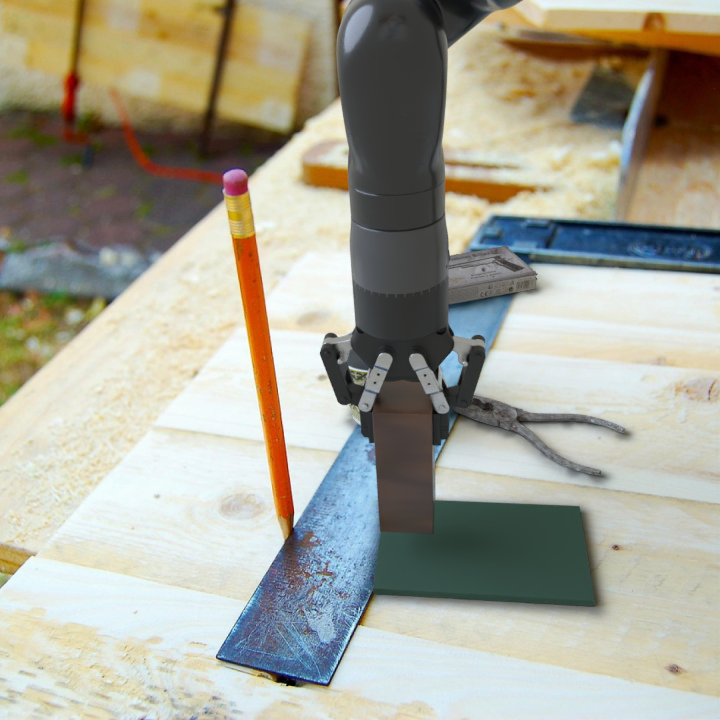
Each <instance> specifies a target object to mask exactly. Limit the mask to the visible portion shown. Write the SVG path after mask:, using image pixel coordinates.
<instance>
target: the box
mask: <svg viewBox="0 0 720 720" xmlns="http://www.w3.org/2000/svg"><path fill="white" fill-rule="evenodd" d="M538 274H539V273H538V272H537V271H536V270H534V269H533V268H532V267H530V266H529V265H528V264H527V263H526V261H524V260H522V259H521V258H520V257H519V256H518V255H517V254H516V253H515V252H513V251H512V250H511V248H510V247H508V246H507V245H502V246H497V247H496V246H495V247H491V248H485V249H479V250H475V251H466V252H462V253H456V254H451V255H450V260H449V275H448V277H449V300H448V305H454V304H460V303H466V302H471V301H477V300H482V299H486V298H491V297H498V296H503V295H508V294H513V293H519V292H524V291H525V292H526V291H529V290H530V291H531V290H536V284H537V283H536V282H537V281H538V277H537V276H538Z"/></svg>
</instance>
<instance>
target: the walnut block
mask: <svg viewBox="0 0 720 720" xmlns="http://www.w3.org/2000/svg"><path fill="white" fill-rule="evenodd" d="M372 416H373V432H374V443H373V445H374V460H375V475H376V477H375V478H376V489H377V490H376V492H377V506H378V507H377V508H378V521H379V522H378V523H379V531H380V533H381V532H402V533H424V534H433V531H434V514H435V500H436V445H433V404H432V401H431V399H430V397H429V395H426V393H425V391H424V389H423V387H422V385H421V382H410V381H406V380H399V381H394V382H383V384H382V387H381V389H380V392H379V394H378V395H377V397H376V399H375V402H374V407H373V412H372Z"/></svg>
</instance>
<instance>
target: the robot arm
mask: <svg viewBox="0 0 720 720" xmlns="http://www.w3.org/2000/svg"><path fill="white" fill-rule="evenodd" d="M523 1H524V0H349V2H348V3H347V5H346V7H345V9H344V11H343V15H342V18H341V21H340V24H339V28H338V31H337V35H336V45H335V55H336V57H335V58H336V73H337V79H338V80H337V83H338V89H339V99H340V105H341V113H342V118H343V124H344V131H345V136H346V141H347V146H348V152H347V153H348V154H347V181H348V182H347V183H348V197H349V198H348V199H349V210H350V229H349V257H350V269H351V270H350V271H351V284H352V297H353V310H354V328H353V330H352V331H353V332H352V331H351V332H352V334H351V335H347V334H345V335H346V336H345V335H341V336H338V335H337V334H336V333H334V332H328V333H325V335H324V337H323V341H322V344H321V347H320V351H319V356H320V359H321V361H322V365H323V367H324V369H325V372H326V374H327V377H328V379H329V383H330V386H331V388H332V390H333V393H334V396H335V398H336V401H337V403H338V404H339V405H342V406H349V404H353V405H355V406H357V407H358V408H359V411H360V423H361V426H360V433H361V435H362V437H363V438H368V443H369V444H374V432H373V416H372V412H373V407H374V402H375V399H376V397H377V395H378V394H379V392H380V389H381V387H382V384H383V382H394V381H399V380H406V381H410V382H421V385H422V387H423V389H424V391H425V393H426V395H429V397H430V399H431V401H432V404H433V445H435V446H442V440H443V441H444V440H447V439H448V438H449V436H450V411H451V410H452V409H453V408H454V407H460V408H463V409H465V408H470V407H471V404H472V403H471V402H472V398H473V395H475V392H476V388H477V386H478V382H479V380H480V377H481V374H482V370H483V367H484V364H485V361H486V338H485V336H483V335H481V334H474V335H473V336H471V338H467V337H463V336H458V335H455V332H454V331H453V329H452V327H451V326H450V323H449V304H448V300H449V277H448V275H449V260H450V256H451V255H450V254H451V253H450V249H449V247H450V245H449V243H450V242H449V233H448V226H447V218H446V217H447V215H446V161H445V151H444V145H443V137H444V131H445V130H444V129H445V119H446V118H445V117H446V106H447V92H448V91H447V89H448V69H449V68H448V67H449V66H448V64H449V62H448V61H449V49H450V48H451V47H452V46H454V44H456V43H457V42H458V41H459V40H461V39H462V38H464V36H465V35H467V34H468V33H469V32H470V31H472V30H473V29H474V28H475V27H477V25H479V24H480V23H481V22H483V21H484V20H485V19H486V18H487V17H488V16H490V15H491V14H493V13H495V12H498V11H505V10H508V9H511V8H513V7H515V6H516V5H518V4H520V3H522V2H523ZM352 349H353V351H354V352H355V353H356V354H357V355H358V356H359V357H360V358H361V359H362V360H363V361H364V363H365V364H366V365H367V366H368V367H369V370H368V373H367V376H366V379H365V381H364V384H363V386H362V385H358V384H355V383H354V380H353V377H352V375H351V372H350V369H349V366H348V364H347V360H348V357H349V353H350V350H352ZM452 352H455V353H456V355H457V362H458V363H459V364H460V365H462V367H461V370H460V373H459V376H458V380H457V383H456V384H455V385H451V386H449V385H448V383H447V381H446V378H445V377H444V374H443V368H442V366H441V364H442V363H443V362H444V361H445V360H446V359H447V358H448V356H449V355H450V354H451V353H452Z"/></svg>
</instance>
